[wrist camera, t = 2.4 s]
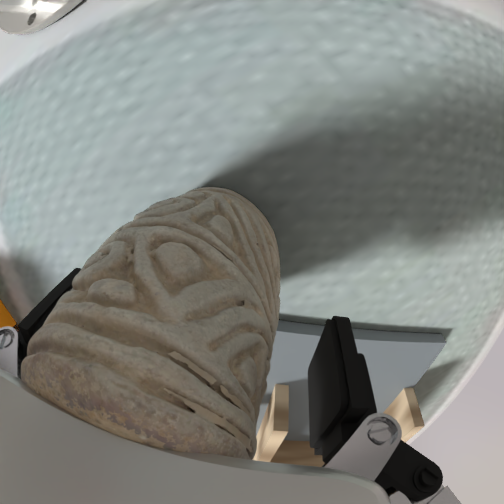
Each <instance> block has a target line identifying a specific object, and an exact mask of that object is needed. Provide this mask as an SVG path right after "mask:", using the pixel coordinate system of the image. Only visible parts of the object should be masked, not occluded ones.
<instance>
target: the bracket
mask: <svg viewBox="0 0 504 504" xmlns="http://www.w3.org/2000/svg"><path fill="white" fill-rule="evenodd" d="M15 325H16V322H15V320H14V319H13V317H12V316H11V315H10V313H9V312H8V310H7V309H6V307H5V306H4V304H3V303H2V301H1V300H0V328H2V327H6V326H10V327H14V326H15Z"/></svg>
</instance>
